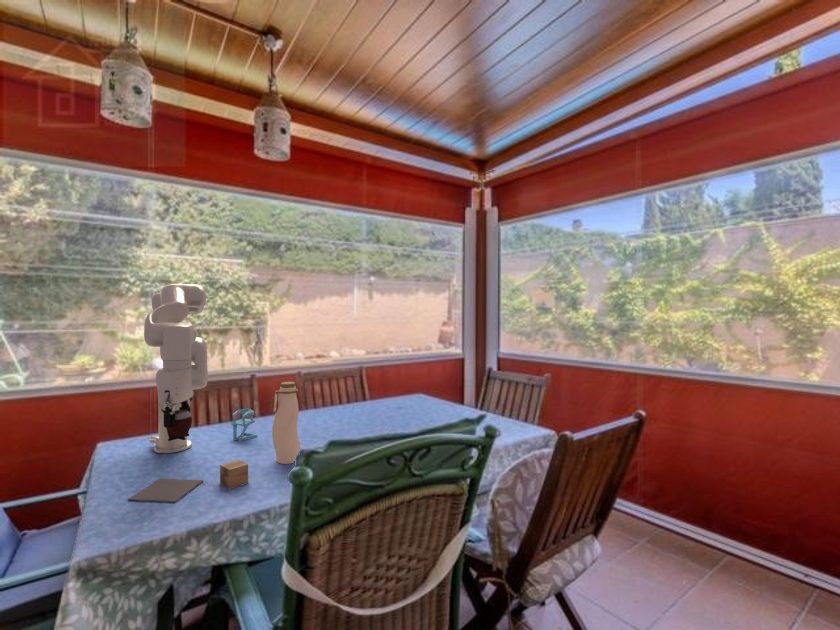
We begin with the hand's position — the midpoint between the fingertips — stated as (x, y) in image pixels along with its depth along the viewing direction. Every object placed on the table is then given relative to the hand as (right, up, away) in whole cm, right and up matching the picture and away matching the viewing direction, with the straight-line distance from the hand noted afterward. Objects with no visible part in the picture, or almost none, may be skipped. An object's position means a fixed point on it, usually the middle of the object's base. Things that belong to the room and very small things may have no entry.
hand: (177, 422), depth 129 cm
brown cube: (+15, -20, +4) cm, 26 cm away
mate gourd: (0, -5, 0) cm, 5 cm away
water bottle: (+25, -20, +24) cm, 40 cm away
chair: (0, -19, +47) cm, 51 cm away
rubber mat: (-2, -20, -2) cm, 20 cm away
